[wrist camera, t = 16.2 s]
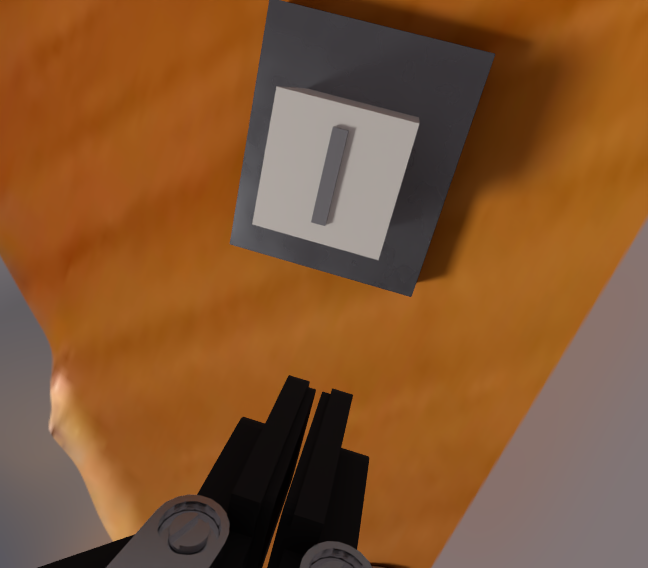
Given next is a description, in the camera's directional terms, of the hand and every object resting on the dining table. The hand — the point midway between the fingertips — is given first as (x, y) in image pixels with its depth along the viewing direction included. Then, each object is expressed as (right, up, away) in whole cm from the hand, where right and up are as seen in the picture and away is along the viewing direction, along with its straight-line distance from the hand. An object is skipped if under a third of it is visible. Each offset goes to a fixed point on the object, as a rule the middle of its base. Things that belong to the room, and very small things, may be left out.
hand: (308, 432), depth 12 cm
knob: (+2, +11, +15) cm, 19 cm away
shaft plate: (+2, +12, +17) cm, 21 cm away
